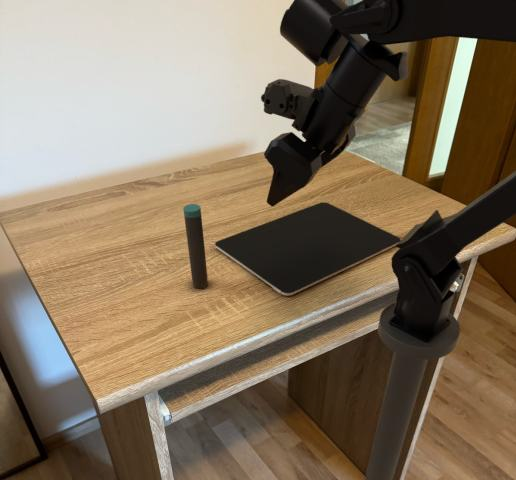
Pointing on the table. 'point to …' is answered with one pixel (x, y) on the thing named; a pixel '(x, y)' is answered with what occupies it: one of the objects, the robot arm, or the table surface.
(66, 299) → the table surface
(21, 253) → the table surface
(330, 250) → the tablet
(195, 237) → the teal capped marker
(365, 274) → the table surface
